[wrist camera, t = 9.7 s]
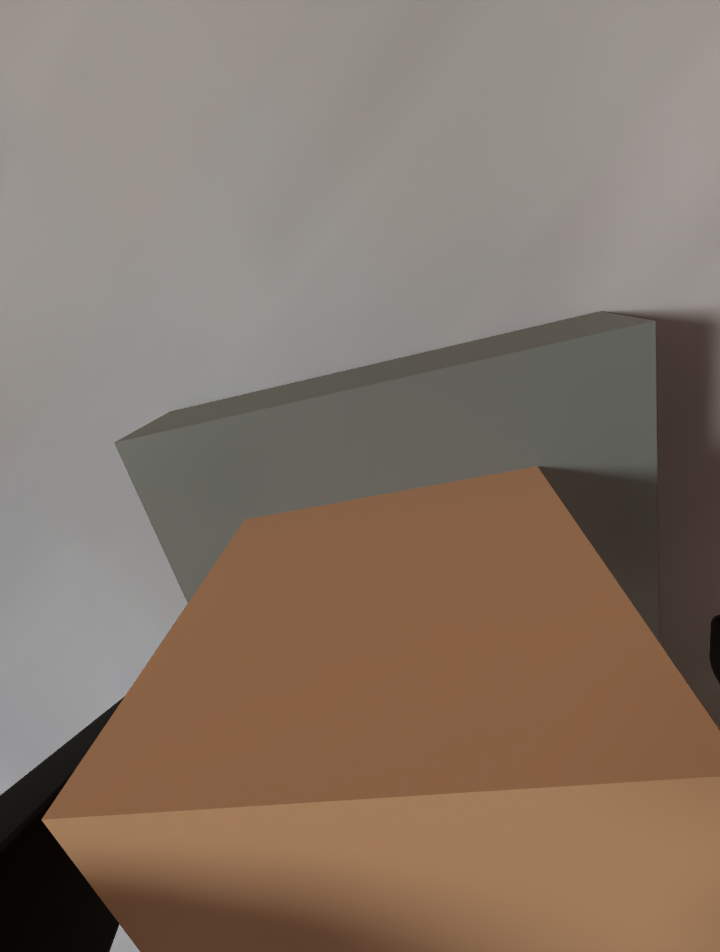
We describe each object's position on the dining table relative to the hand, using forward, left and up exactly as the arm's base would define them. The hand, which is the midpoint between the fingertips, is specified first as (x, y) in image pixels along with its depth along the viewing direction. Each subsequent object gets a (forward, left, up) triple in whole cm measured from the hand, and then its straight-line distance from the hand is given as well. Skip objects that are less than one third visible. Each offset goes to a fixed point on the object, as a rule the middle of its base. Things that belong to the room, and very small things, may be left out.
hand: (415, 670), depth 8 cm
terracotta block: (0, 0, -1) cm, 1 cm away
